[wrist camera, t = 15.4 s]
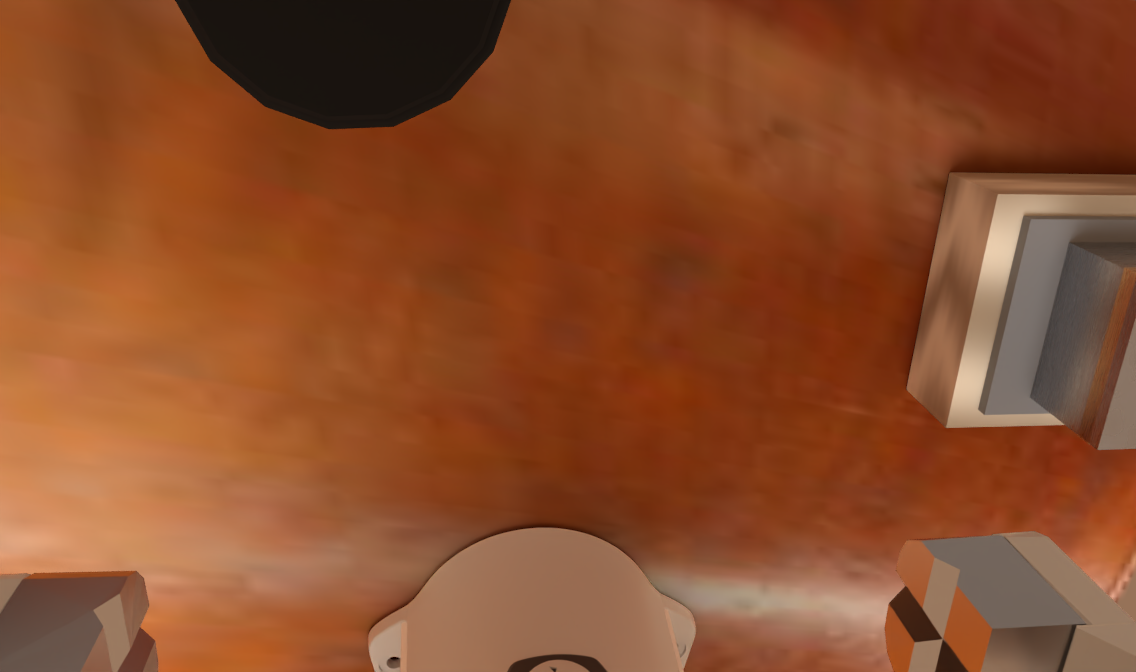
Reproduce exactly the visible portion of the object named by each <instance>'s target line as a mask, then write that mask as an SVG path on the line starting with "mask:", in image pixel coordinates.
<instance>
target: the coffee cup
mask: <svg viewBox="0 0 1136 672" xmlns="http://www.w3.org/2000/svg"><path fill="white" fill-rule="evenodd" d="M175 1H176V3H177V4H178V6H179V8H180V10H181V11H182V13H183V15H184V16H185V18H186V20H187V22H188V23H189V25H190V27H191V28H192V30H193V32H194V34H195V35H196V37H197V39H198V40H199V42H200V44H201V46H202V47H203V49H204V51H205V52H206V54H207V56H208V58H209V59H210V61H211V62H212V63H214V64H215V65H216V66H217V67H218V68H220V69H221V70H222V71H223V72H224V73H226V74H227V75H228V76H229V77H230V78H232V79H233V80H234V81H235V82H236V83H238V84H239V85H240V86H241V87H242V88H244V89H245V90H246V91H247V92H248V93H250V94H251V95H252V96H253V97H254V98H256V99H257V100H258V101H259V102H260V103H262V104H263V105H264V106H265V107H268V108H270V109H273V110H276V111H279V112H282V113H285V114H288V115H290V116H293V117H296V118H299V119H302V120H305V121H307V122H310V123H313V124H316V125H319V126H322V127H325V128H327V129H345V128H370V127H394V126H396V125H398V124H400V123H402V122H404V121H406V120H408V119H411V118H413V117H415V116H417V115H419V114H421V113H423V112H425V111H428V110H430V109H432V108H434V107H436V106H438V105H440V104H442V103H445V102H447V101H449V100H451V99H452V97H453V96H454V95H455V94H456V93H457V92H458V91H459V90H460V88H461V87H462V86H463V85H464V84H465V83H466V82H467V81H468V79H469V78H470V77H471V76H472V75H473V74H474V73H475V72H476V70H477V69H478V68H479V67H480V66H481V65H482V64H483V63H484V61H485V60H486V59H487V58H488V57H489V56H490V55H491V54H492V52H493V51H494V48H495V45H496V42H497V39H498V36H499V33H500V30H501V28H502V25H503V22H504V19H505V16H506V13H507V10H508V7H509V4H510V2H511V0H175Z"/></svg>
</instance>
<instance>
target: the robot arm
mask: <svg viewBox="0 0 1136 672" xmlns="http://www.w3.org/2000/svg"><path fill="white" fill-rule="evenodd" d="M896 572H897V574H898V575H899V577H900V578H901V580H902V582H903V583H904V585H905V587H904V588H903V589H902V590H901V591H900V592H899V593H898V594H897V595H896V597H895V598H894V599H893V600H892V601H891V602H890V603H889V605H888V611H887V617H886V623H885V636H886V644H887V653H888V656H889V659H890V662H891V664H892V667H893V670H894V672H1136V622H1135V621H1134V620H1133V619H1132V618H1131V617H1130V616H1129V615H1128V614H1127V613H1126V612H1125V611H1124V610H1123V609H1122V608H1120V606H1119V605H1118V604H1117V603H1116V602H1115V601H1114V600H1112V599H1111V598H1110V597H1109V596H1108V595H1107V594H1106V593H1105V592H1104V591H1103V590H1102V589H1101V588H1100V587H1099V586H1098V585H1097V584H1096V583H1095V582H1094V581H1093V580H1092V579H1091V578H1090V577H1089V576H1088V575H1087V574H1086V573H1085V572H1084V571H1083V570H1082V569H1081V568H1080V567H1079V566H1077V565H1076V564H1075V563H1074V562H1073V561H1072V560H1071V559H1070V558H1069V557H1068V556H1067V555H1066V554H1065V553H1064V552H1063V551H1062V550H1061V549H1060V548H1059V547H1058V546H1057V545H1056V544H1055V543H1054V542H1053V541H1052V540H1051V539H1050V538H1049V537H1047V536H1045V535H1043V534H1040V533H1038V532H1035V531H1030V532H1016V533H1002V534H992V535H991V536H974V537H954V538H935V539H915V540H907V541H906V543H905V545H904V546H903V548H902V549H901V551H900V554H899V559H898V563H897V567H896ZM148 607H149V601H148V596H147V591H146V586H145V581H144V578H143V577H142V576H141V575H140V574H139V573H138V572H137V571H112V572H65V573H34V574H32V575H31V574H27V573H24V574H0V672H158V657H157V650H156V643H155V640H154V639H153V638H151V637H150V636H149V635H148V634H147V633H146V632H145V631H144V630H143V629H141V628H140V626H141V623H142V621H143V619H144V616H145V614H146V612H147V609H148ZM695 635H696V626H695V622H694V617H693V614H692V613H691V612H690V611H689V610H688V609H687V608H686V607H685V606H683V605H682V604H680V603H678V602H677V601H675V600H673V599H671V598H669V597H667V596H665V595H663V594H661V593H659V592H658V591H657V590H656V589H655V588H654V587H653V586H652V584H651V583H650V582H649V580H648V579H647V578H646V576H645V575H644V573H643V572H642V571H641V569H640V568H639V567H638V566H637V565H636V563H635V562H634V561H633V560H632V559H631V558H629V557H628V556H627V555H626V554H625V553H623V552H622V551H621V550H619V549H618V548H616V547H615V546H613V545H611V544H610V543H608V542H606V541H604V540H602V539H599V538H597V537H594V536H592V535H589V534H586V533H582V532H578V531H573V530H568V529H560V528H528V529H520V530H515V531H509V532H506V533H502V534H498V535H495V536H492V537H489V538H487V539H484V540H482V541H480V542H477V543H475V544H473V545H471V546H469V547H468V548H466V549H464V550H463V551H461V552H459V553H458V554H456V555H455V556H454V557H452V558H451V559H450V560H448V561H447V562H446V563H445V564H444V565H442V566H441V567H440V568H439V569H438V570H437V571H436V572H435V573H434V575H433V576H432V577H431V578H430V579H429V580H428V582H427V583H426V584H425V586H424V587H423V588H422V590H421V591H420V592H419V593H418V595H417V596H416V597H415V598H414V599H413V600H412V601H411V602H410V603H409V604H408V605H406V606H404V607H403V608H401V609H399V610H397V611H396V612H394V613H392V614H390V615H389V616H387V617H386V618H384V619H382V620H381V621H380V622H378V623H377V624H376V625H375V626H374V627H373V628H372V629H371V630H370V632H369V635H368V648H369V655H370V658H371V661H372V664H373V668H374V671H375V672H684V670H683V669H684V667H685V664H686V661H687V658H688V655H689V653H690V650H691V647H692V644H693V641H694V638H695ZM391 657H398V658H399V659H397V660H392V659H390V658H391Z"/></svg>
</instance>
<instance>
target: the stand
mask: <svg viewBox="0 0 1136 672" xmlns="http://www.w3.org/2000/svg"><path fill="white" fill-rule="evenodd" d="M1069 242H1136V175H1117V174H1042V173H966V172H950V173H949V178H948V183H947V188H946V193H945V198H944V203H943V208H942V213H941V218H940V223H939V228H938V233H937V238H936V243H935V248H934V253H933V258H932V263H931V268H930V273H929V278H928V283H927V288H926V293H925V298H924V303H923V308H922V313H921V318H920V323H919V328H918V333H917V338H916V343H915V348H914V353H913V358H912V363H911V368H910V373H909V378H908V383H907V388H906V390H907V391H908V392H909V393H910V394H911V395H912V396H913V397H914V398H916V399H917V400H918V401H919V402H920V403H921V404H922V405H923V406H924V407H925V408H926V409H927V410H928V411H929V412H930V413H931V414H932V415H933V416H934V417H935V418H936V419H937V420H938V421H939V422H940V423H942V424H943V425H944V426H945V427H946V428H960V427H1000V426H1041V425H1065V424H1063V423H1062V422H1061V421H1059V420H1058V419H1057V418H1056V417H1054V416H1053V415H1052V414H1050V413H1049V412H1048V411H1047V410H1045V409H1044V408H1043V407H1041V406H1040V405H1039V404H1037V403H1036V402H1035V401H1034V400H1032V399H1031V398H1030V395H1031V391H1032V387H1033V383H1034V379H1035V375H1036V371H1037V367H1038V364H1039V360H1040V356H1041V352H1042V348H1043V344H1044V340H1045V336H1046V332H1047V328H1048V324H1049V320H1050V316H1051V312H1052V308H1053V304H1054V300H1055V296H1056V292H1057V288H1058V284H1059V280H1060V276H1061V272H1062V268H1063V264H1064V260H1065V256H1066V252H1067V248H1068V244H1069Z"/></svg>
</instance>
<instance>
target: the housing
mask: <svg viewBox="0 0 1136 672" xmlns="http://www.w3.org/2000/svg"><path fill="white" fill-rule="evenodd" d="M1030 398H1031V399H1032V400H1034V401H1035V402H1036V403H1037V404H1039V405H1040V406H1041V407H1043V408H1044V409H1045V410H1047V411H1048V412H1049V413H1050V414H1052V415H1053V416H1054V417H1056V418H1057V419H1058V420H1059V421H1061V422H1062V423H1063V424H1065V425H1066V426H1067V427H1068V428H1070V429H1071V430H1072V431H1074V432H1075V433H1076V434H1078V436H1079V437H1080V438H1081V439H1082V440H1084V441H1085V442H1086V443H1088V444H1090V445H1092V446H1093V447H1094V448H1096V449H1097V450H1109V449H1136V242H1069V244H1068V248H1067V252H1066V256H1065V260H1064V264H1063V268H1062V272H1061V276H1060V280H1059V284H1058V288H1057V292H1056V296H1055V300H1054V304H1053V308H1052V312H1051V316H1050V320H1049V324H1048V328H1047V332H1046V336H1045V340H1044V344H1043V348H1042V352H1041V356H1040V360H1039V364H1038V367H1037V371H1036V375H1035V379H1034V383H1033V387H1032V391H1031V395H1030Z"/></svg>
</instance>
